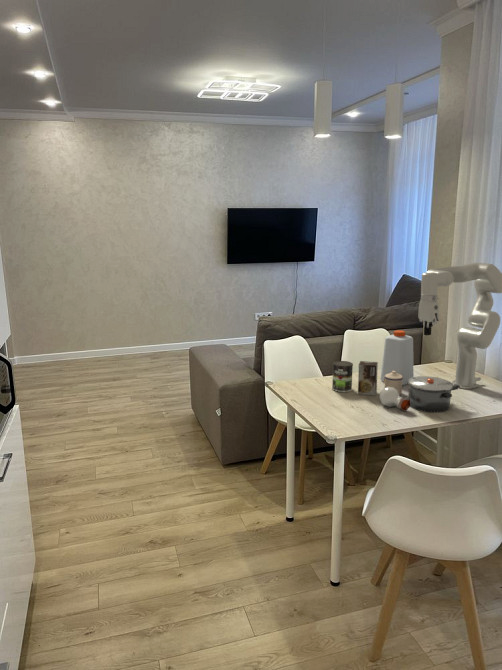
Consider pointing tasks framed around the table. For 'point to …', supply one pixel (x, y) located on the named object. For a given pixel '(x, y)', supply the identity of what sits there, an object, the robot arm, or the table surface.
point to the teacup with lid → (394, 381)
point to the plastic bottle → (398, 356)
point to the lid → (430, 383)
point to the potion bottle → (394, 399)
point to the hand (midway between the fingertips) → (427, 334)
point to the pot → (430, 399)
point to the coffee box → (367, 378)
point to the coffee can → (342, 376)
